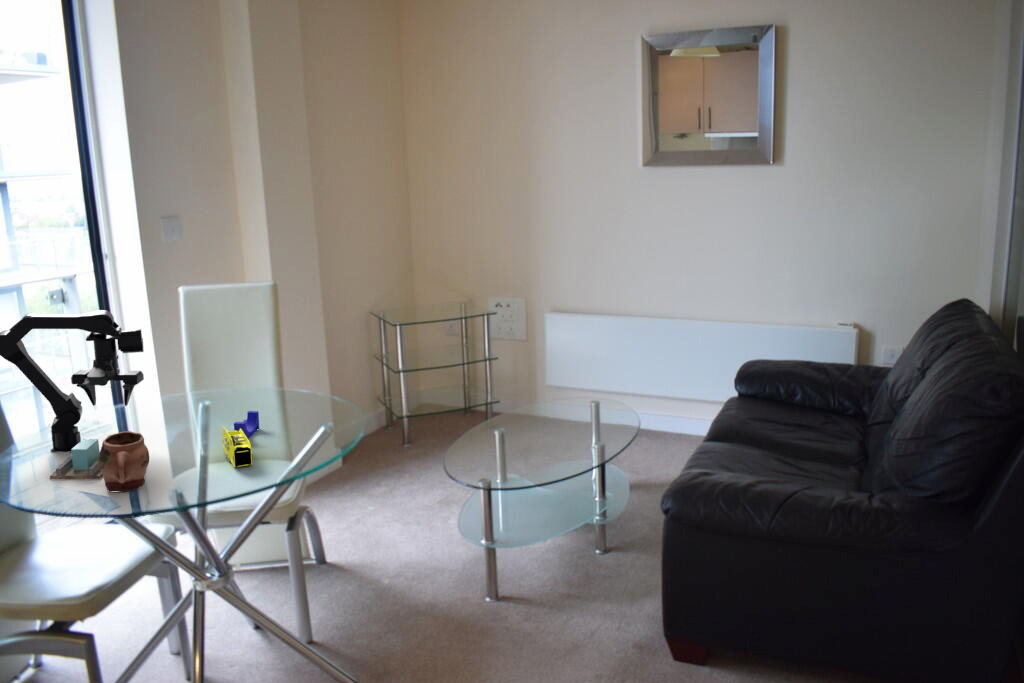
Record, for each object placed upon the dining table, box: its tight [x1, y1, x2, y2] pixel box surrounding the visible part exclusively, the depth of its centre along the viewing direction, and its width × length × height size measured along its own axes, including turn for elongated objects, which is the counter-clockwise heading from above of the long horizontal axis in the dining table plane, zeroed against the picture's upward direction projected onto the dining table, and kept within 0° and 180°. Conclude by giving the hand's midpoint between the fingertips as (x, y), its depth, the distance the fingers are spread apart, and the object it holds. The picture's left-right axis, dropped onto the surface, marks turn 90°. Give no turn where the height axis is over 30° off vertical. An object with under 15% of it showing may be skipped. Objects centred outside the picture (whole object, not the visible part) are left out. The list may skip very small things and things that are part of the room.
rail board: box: [49, 454, 104, 480], centre depth 240 cm, size 13×16×3 cm
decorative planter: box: [98, 430, 150, 492], centre depth 226 cm, size 20×12×14 cm, turn 25°
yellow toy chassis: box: [221, 426, 253, 468], centre depth 249 cm, size 16×6×8 cm, turn 28°
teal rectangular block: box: [70, 438, 100, 470], centre depth 240 cm, size 4×8×6 cm, turn 3°
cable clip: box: [233, 410, 260, 440], centre depth 268 cm, size 12×4×6 cm, turn 174°
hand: (110, 405), depth 256 cm, fingers open, 9 cm apart
